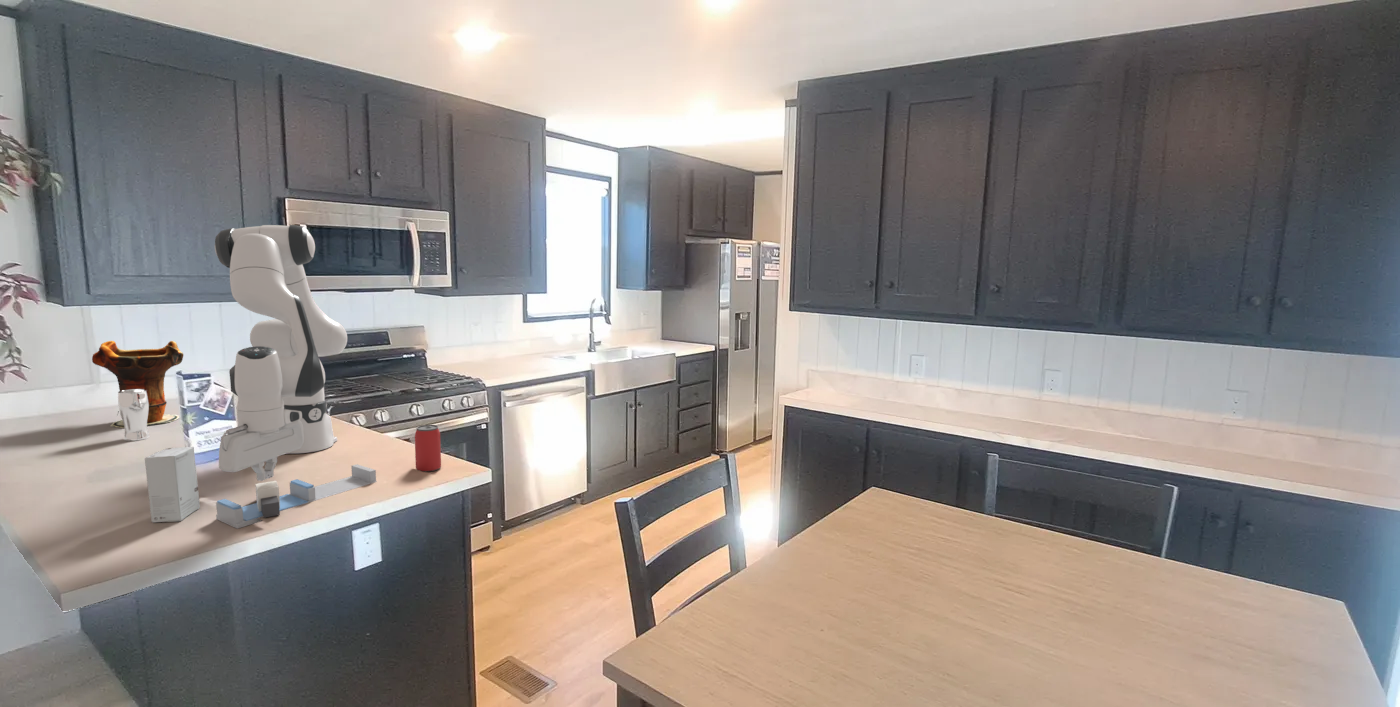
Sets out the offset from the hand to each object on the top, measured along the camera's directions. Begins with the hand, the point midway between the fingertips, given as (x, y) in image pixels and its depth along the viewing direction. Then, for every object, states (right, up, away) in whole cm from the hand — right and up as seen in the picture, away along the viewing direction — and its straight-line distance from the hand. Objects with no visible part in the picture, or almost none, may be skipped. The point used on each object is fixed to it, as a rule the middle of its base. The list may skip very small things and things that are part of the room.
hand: (265, 478), depth 147 cm
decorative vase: (-89, +5, +72) cm, 115 cm away
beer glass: (-75, +2, +52) cm, 92 cm away
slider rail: (+4, -7, +8) cm, 11 cm away
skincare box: (-18, -8, -2) cm, 20 cm away
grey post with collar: (0, -7, +1) cm, 7 cm away
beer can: (+23, -4, +34) cm, 41 cm away
